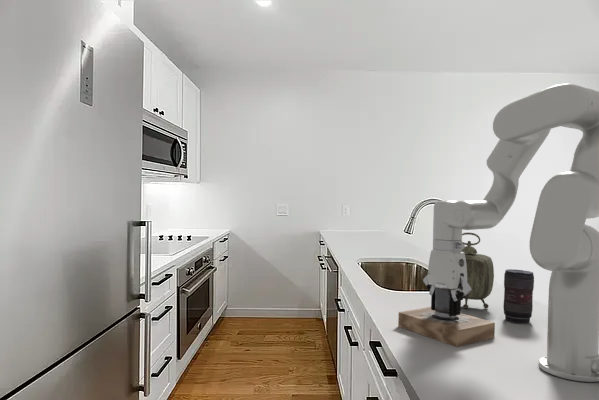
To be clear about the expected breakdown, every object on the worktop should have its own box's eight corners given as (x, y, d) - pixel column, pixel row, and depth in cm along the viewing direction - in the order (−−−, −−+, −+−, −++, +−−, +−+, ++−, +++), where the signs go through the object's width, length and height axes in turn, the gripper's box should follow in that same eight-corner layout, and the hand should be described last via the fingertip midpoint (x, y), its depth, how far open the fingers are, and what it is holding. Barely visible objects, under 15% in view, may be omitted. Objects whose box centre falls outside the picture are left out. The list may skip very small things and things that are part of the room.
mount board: (494, 337, 124) (494, 322, 123) (456, 346, 115) (457, 330, 115) (434, 319, 140) (435, 306, 140) (398, 326, 132) (398, 312, 132)
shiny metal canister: (460, 328, 127) (462, 284, 127) (446, 331, 124) (447, 286, 124) (443, 323, 132) (444, 280, 132) (429, 326, 129) (430, 282, 128)
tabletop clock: (493, 308, 156) (495, 233, 156) (487, 314, 148) (489, 235, 148) (449, 302, 164) (450, 230, 164) (441, 307, 156) (443, 232, 156)
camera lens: (536, 325, 136) (537, 274, 136) (506, 323, 138) (507, 272, 138) (528, 318, 144) (529, 269, 144) (500, 316, 146) (501, 268, 146)
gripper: (483, 249, 122) (481, 318, 122) (431, 242, 137) (430, 304, 137) (464, 250, 118) (463, 321, 118) (413, 243, 133) (412, 307, 133)
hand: (445, 311), depth 128 cm, fingers open, 5 cm apart
